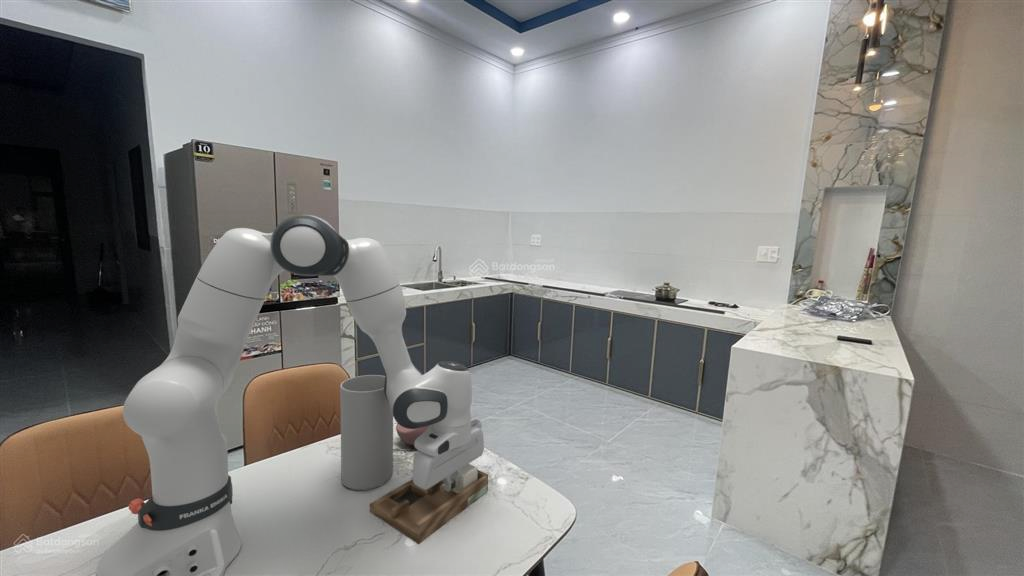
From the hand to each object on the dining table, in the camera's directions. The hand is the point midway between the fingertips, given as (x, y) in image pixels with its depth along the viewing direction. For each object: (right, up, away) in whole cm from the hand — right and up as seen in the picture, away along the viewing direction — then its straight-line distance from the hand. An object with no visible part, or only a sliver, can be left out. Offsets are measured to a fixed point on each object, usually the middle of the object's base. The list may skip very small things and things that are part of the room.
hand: (450, 488), depth 96 cm
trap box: (-4, -3, +1) cm, 6 cm away
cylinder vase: (-23, -2, +10) cm, 25 cm away
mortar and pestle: (-15, 0, +28) cm, 32 cm away
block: (+2, -1, +4) cm, 5 cm away
